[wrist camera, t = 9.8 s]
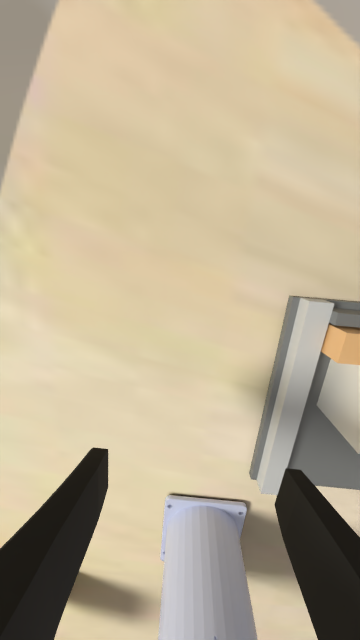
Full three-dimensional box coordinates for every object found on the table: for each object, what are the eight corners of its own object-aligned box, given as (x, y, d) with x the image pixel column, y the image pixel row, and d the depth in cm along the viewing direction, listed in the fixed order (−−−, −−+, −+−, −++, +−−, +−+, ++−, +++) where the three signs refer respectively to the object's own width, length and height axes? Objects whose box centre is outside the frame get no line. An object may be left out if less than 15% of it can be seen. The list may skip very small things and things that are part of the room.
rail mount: (383, 486, 20) (408, 515, 18) (249, 473, 21) (257, 500, 18) (465, 310, 16) (513, 320, 13) (289, 295, 16) (306, 302, 14)
